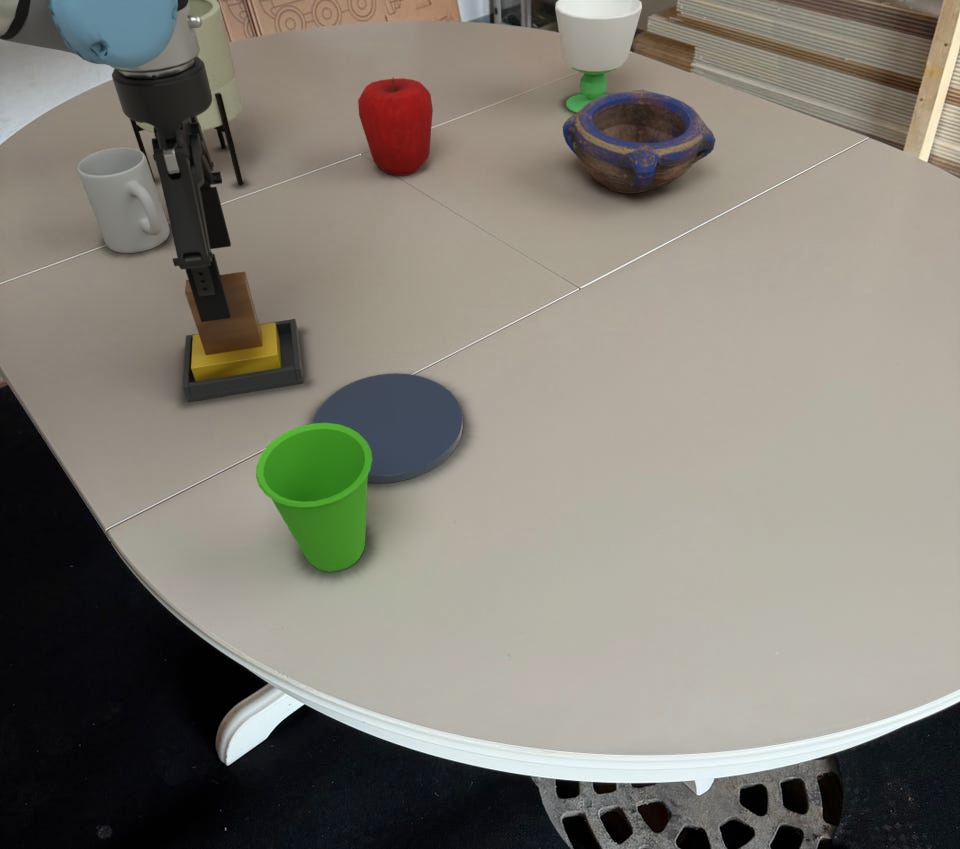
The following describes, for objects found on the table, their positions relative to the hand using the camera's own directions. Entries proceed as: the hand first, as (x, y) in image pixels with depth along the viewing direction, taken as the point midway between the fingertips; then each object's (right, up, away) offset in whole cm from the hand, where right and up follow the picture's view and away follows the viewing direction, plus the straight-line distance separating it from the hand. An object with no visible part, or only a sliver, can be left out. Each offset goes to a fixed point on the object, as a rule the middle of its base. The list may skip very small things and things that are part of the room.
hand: (217, 280), depth 83 cm
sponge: (0, -8, +7) cm, 11 cm away
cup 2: (+46, +40, +57) cm, 83 cm away
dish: (+1, -8, +8) cm, 11 cm away
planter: (-15, +24, +43) cm, 52 cm away
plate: (+17, -15, 0) cm, 23 cm away
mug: (-19, +10, +28) cm, 36 cm away
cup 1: (+14, -26, -11) cm, 31 cm away
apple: (+15, +24, +42) cm, 51 cm away
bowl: (+49, +21, +37) cm, 64 cm away
